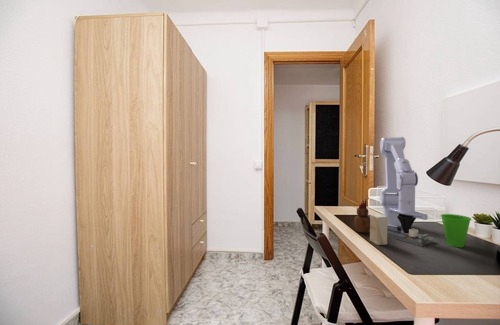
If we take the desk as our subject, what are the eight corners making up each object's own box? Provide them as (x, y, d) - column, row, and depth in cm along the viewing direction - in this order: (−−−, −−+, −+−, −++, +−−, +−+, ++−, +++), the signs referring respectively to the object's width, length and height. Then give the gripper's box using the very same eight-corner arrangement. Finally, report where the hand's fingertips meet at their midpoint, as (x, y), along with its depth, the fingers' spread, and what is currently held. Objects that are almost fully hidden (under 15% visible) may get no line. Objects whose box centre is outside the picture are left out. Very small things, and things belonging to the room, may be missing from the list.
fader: (412, 234, 97) (412, 228, 97) (417, 236, 95) (418, 229, 95) (408, 235, 95) (409, 229, 95) (414, 237, 94) (414, 230, 94)
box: (369, 240, 96) (369, 213, 95) (379, 240, 96) (379, 213, 96) (377, 245, 91) (377, 217, 90) (388, 244, 91) (388, 216, 91)
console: (387, 229, 110) (387, 221, 110) (434, 241, 93) (434, 233, 93) (374, 232, 105) (374, 224, 105) (421, 246, 89) (421, 237, 89)
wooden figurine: (367, 229, 109) (367, 198, 109) (372, 233, 104) (372, 200, 103) (352, 229, 110) (352, 198, 110) (357, 233, 104) (357, 200, 104)
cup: (470, 244, 90) (471, 216, 90) (471, 251, 84) (471, 221, 83) (441, 239, 96) (441, 212, 96) (439, 245, 90) (439, 217, 89)
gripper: (383, 198, 102) (383, 229, 102) (421, 204, 89) (420, 239, 89) (393, 197, 105) (393, 227, 105) (430, 202, 92) (430, 236, 93)
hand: (406, 232), depth 98 cm, fingers closed
